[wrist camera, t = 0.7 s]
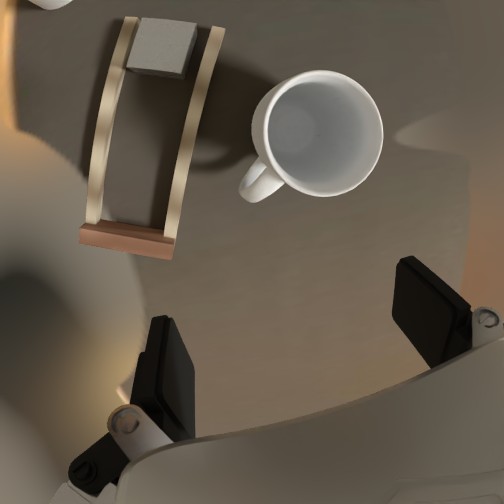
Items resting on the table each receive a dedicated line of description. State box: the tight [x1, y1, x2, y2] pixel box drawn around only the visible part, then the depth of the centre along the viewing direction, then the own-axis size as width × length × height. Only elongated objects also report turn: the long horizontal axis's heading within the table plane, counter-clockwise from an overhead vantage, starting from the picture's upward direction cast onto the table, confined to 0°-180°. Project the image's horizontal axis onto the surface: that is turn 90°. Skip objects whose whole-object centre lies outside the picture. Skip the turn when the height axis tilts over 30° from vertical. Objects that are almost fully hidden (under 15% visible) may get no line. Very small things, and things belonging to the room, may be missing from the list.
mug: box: [239, 70, 383, 202], centre depth 29 cm, size 15×11×13 cm
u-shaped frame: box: [79, 17, 225, 260], centre depth 30 cm, size 28×12×4 cm, turn 166°
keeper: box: [126, 18, 198, 80], centre depth 26 cm, size 6×6×5 cm
